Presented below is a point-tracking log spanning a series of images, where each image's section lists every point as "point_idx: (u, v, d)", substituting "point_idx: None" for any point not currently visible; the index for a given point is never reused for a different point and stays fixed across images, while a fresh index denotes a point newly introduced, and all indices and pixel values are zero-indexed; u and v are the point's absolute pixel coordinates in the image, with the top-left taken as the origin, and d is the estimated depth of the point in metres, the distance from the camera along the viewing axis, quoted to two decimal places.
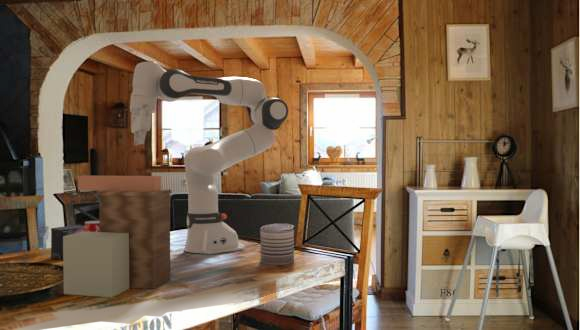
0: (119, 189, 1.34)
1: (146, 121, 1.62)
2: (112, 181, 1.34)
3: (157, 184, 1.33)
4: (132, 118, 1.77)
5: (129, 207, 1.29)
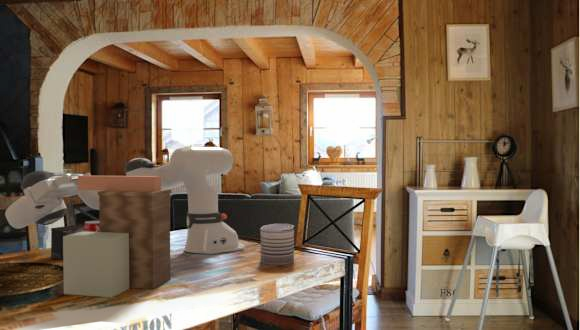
0: (119, 189, 1.34)
1: None
2: (112, 181, 1.34)
3: (157, 184, 1.33)
4: None
5: (129, 207, 1.29)
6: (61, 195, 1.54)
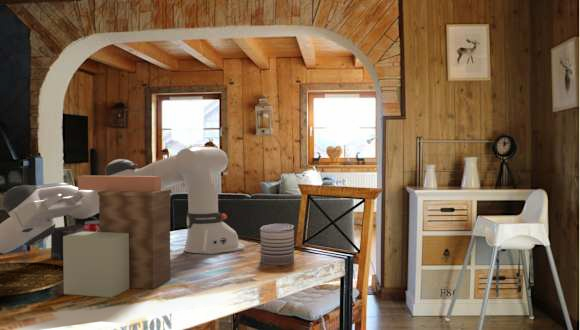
0: (119, 189, 1.34)
1: None
2: (112, 181, 1.34)
3: (157, 184, 1.33)
4: None
5: (129, 207, 1.29)
6: (51, 216, 1.41)
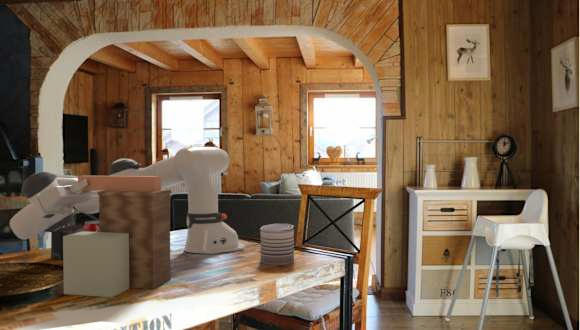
0: (119, 189, 1.34)
1: None
2: (112, 181, 1.34)
3: (157, 184, 1.33)
4: None
5: (129, 207, 1.29)
6: (72, 203, 1.40)
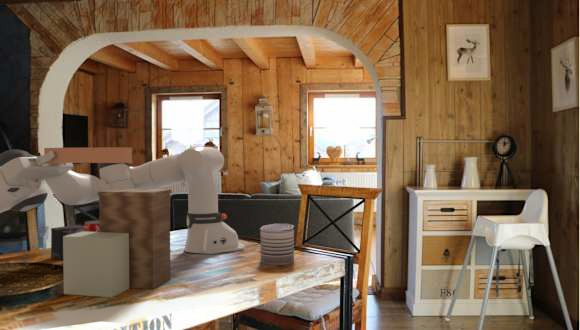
0: (87, 161, 1.25)
1: None
2: (80, 152, 1.26)
3: (127, 155, 1.24)
4: None
5: (129, 207, 1.29)
6: (40, 177, 1.32)
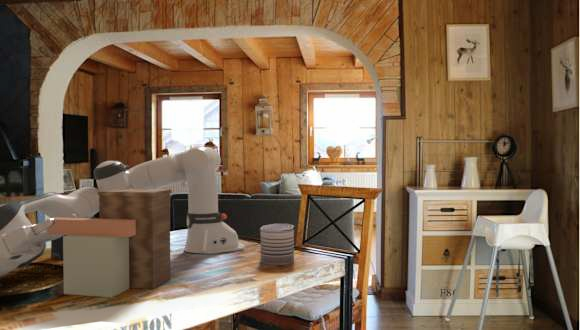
0: (90, 234, 1.24)
1: None
2: (83, 225, 1.25)
3: (131, 228, 1.23)
4: None
5: (129, 207, 1.29)
6: (42, 241, 1.31)
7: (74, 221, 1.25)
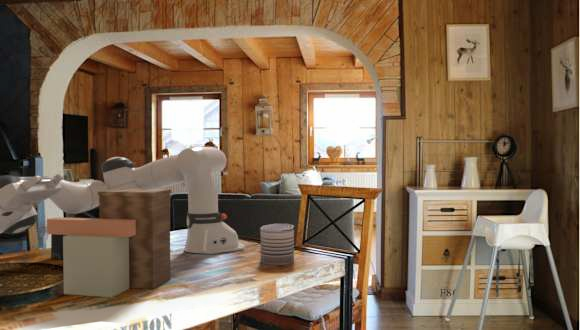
0: (90, 234, 1.24)
1: None
2: (83, 225, 1.25)
3: (131, 228, 1.23)
4: None
5: (129, 207, 1.29)
6: (31, 200, 1.41)
7: (74, 221, 1.25)
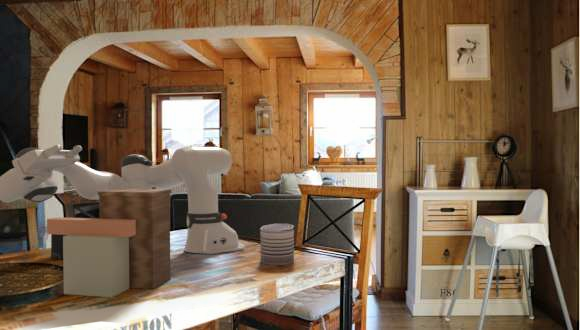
0: (90, 234, 1.24)
1: None
2: (83, 225, 1.25)
3: (131, 228, 1.23)
4: None
5: (129, 207, 1.29)
6: (51, 168, 1.51)
7: (74, 221, 1.25)
